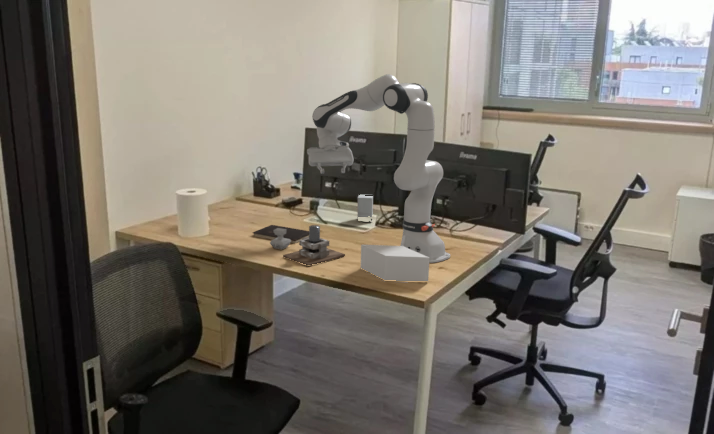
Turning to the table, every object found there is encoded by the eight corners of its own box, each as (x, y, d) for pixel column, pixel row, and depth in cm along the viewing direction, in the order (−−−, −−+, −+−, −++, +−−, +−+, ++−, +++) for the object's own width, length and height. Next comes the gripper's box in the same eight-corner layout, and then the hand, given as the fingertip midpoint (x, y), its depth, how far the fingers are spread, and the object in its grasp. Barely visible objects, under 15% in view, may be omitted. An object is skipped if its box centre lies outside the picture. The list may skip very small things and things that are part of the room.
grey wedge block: (420, 289, 241) (421, 262, 238) (351, 274, 254) (351, 249, 252) (435, 277, 253) (437, 252, 250) (369, 264, 266) (370, 239, 264)
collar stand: (345, 256, 275) (345, 240, 273) (308, 266, 261) (308, 250, 259) (319, 247, 286) (319, 232, 284) (283, 257, 272) (283, 241, 270)
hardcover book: (295, 245, 290) (295, 240, 290) (252, 237, 301) (252, 232, 300) (314, 236, 304) (314, 231, 304) (272, 229, 314) (272, 224, 314)
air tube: (321, 253, 275) (322, 225, 272) (317, 256, 270) (317, 228, 267) (311, 252, 276) (311, 224, 273) (306, 255, 272) (307, 227, 269)
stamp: (281, 252, 279) (281, 233, 277) (268, 249, 281) (268, 230, 279) (292, 246, 287) (292, 227, 285) (279, 244, 289) (279, 225, 287)
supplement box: (372, 219, 334) (373, 194, 331) (371, 222, 327) (372, 198, 323) (358, 218, 335) (358, 194, 331) (356, 222, 327) (357, 197, 324)
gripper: (307, 143, 294) (310, 169, 288) (351, 142, 299) (356, 168, 292) (305, 151, 300) (309, 177, 293) (349, 151, 304) (353, 176, 298)
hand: (333, 172), depth 293 cm, fingers open, 8 cm apart
